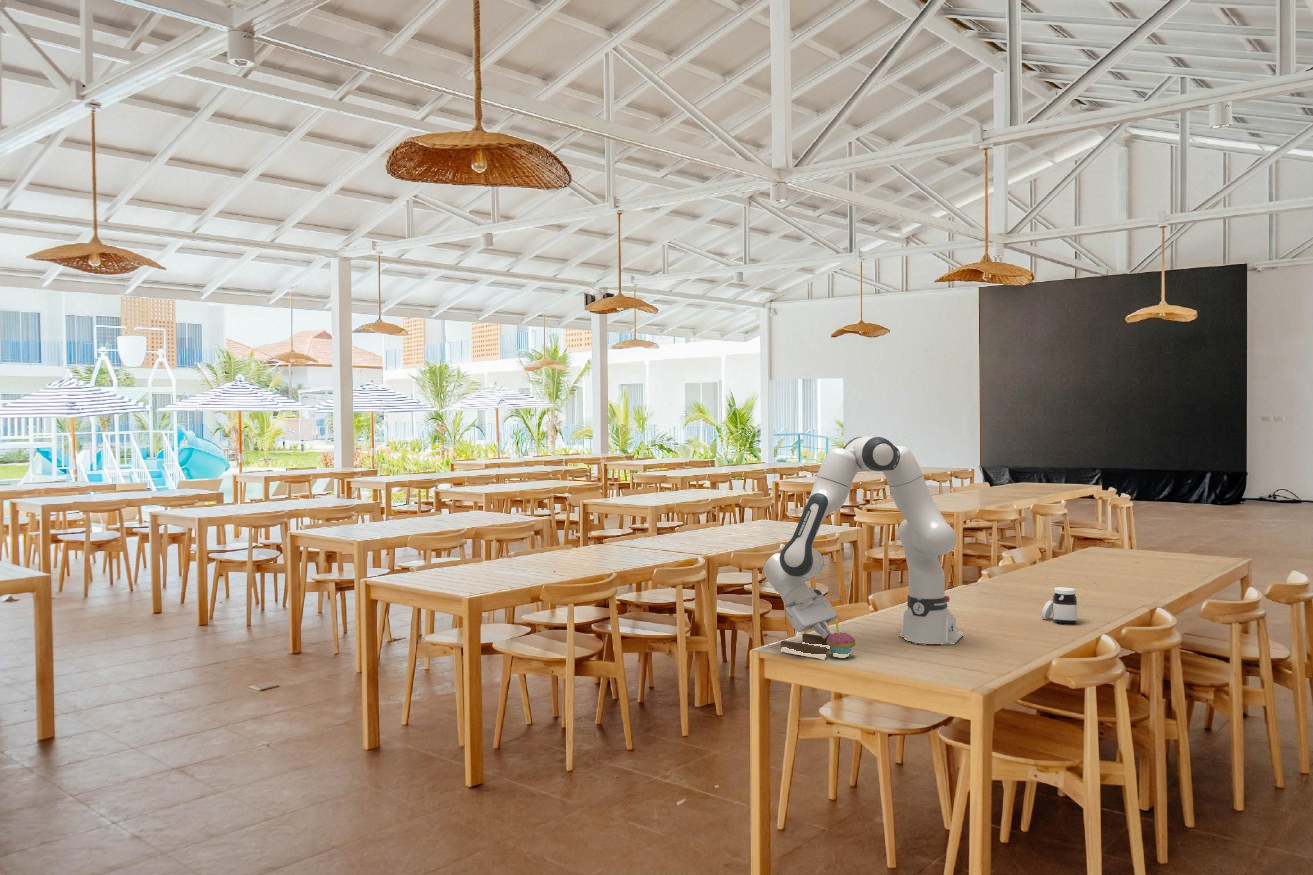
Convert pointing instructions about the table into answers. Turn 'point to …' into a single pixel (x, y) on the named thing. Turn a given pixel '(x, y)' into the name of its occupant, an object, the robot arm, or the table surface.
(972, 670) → the table surface
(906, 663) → the table surface
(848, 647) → the cupcake
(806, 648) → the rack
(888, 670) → the table surface
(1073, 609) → the spread jar
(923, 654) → the table surface
